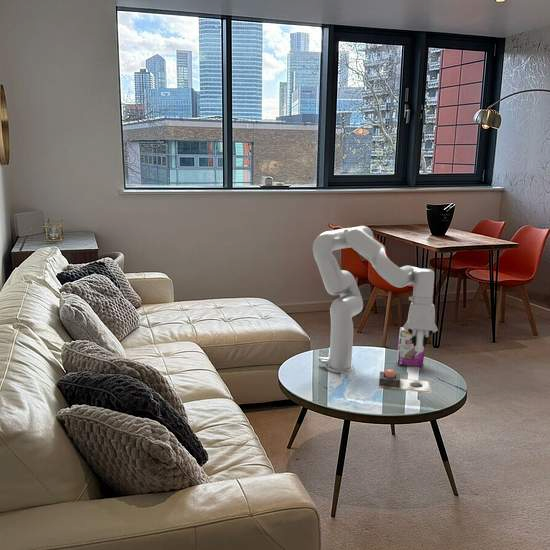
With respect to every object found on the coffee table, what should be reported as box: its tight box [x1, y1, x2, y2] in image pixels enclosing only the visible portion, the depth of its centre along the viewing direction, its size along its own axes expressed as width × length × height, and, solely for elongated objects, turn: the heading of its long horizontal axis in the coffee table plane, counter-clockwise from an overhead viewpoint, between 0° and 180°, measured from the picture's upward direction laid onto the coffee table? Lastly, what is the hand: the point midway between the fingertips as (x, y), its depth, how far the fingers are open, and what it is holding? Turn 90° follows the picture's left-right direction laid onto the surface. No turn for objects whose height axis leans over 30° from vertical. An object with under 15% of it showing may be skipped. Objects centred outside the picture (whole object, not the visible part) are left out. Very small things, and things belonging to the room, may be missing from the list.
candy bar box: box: [396, 326, 426, 368], centre depth 257 cm, size 11×5×16 cm, turn 84°
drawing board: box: [378, 371, 432, 394], centre depth 232 cm, size 20×12×4 cm, turn 79°
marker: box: [415, 330, 425, 352], centre depth 229 cm, size 3×3×11 cm
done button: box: [384, 368, 396, 378], centre depth 233 cm, size 4×4×4 cm
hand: (419, 345), depth 229 cm, fingers closed on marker, 3 cm apart
